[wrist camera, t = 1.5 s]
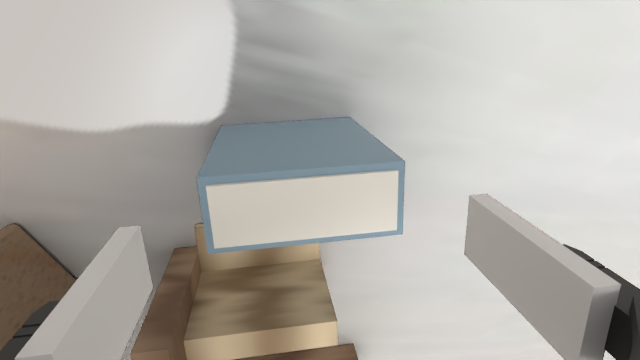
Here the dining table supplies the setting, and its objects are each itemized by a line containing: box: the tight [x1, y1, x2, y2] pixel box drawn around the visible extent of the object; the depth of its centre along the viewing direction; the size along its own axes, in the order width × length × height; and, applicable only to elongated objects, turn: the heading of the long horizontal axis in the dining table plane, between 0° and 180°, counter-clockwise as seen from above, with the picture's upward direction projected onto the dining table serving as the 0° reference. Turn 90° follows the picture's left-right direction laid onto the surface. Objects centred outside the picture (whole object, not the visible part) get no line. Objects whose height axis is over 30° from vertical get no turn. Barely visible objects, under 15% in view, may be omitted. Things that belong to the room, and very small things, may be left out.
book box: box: [196, 117, 405, 254], centre depth 25 cm, size 10×4×13 cm, turn 92°
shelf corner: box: [130, 246, 358, 360], centre depth 30 cm, size 15×14×12 cm
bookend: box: [184, 224, 338, 360], centre depth 30 cm, size 10×6×9 cm, turn 92°
